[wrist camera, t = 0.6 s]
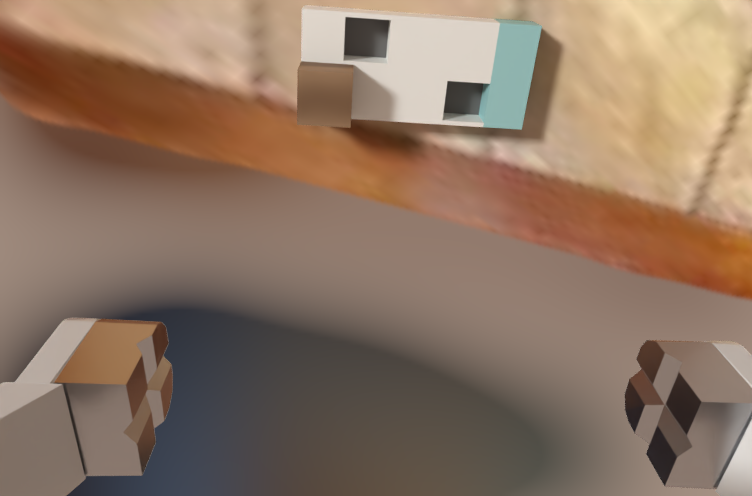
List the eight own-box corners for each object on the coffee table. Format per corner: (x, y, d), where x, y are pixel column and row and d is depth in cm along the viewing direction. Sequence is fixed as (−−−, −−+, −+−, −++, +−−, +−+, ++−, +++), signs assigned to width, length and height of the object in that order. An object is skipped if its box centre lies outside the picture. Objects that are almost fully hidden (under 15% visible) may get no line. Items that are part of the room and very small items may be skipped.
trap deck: (304, 4, 45) (301, 8, 43) (533, 21, 46) (542, 26, 44) (303, 107, 49) (300, 115, 46) (514, 120, 50) (521, 129, 47)
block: (301, 61, 44) (297, 70, 42) (353, 64, 45) (353, 73, 42) (301, 112, 46) (297, 124, 43) (350, 115, 46) (350, 127, 44)
